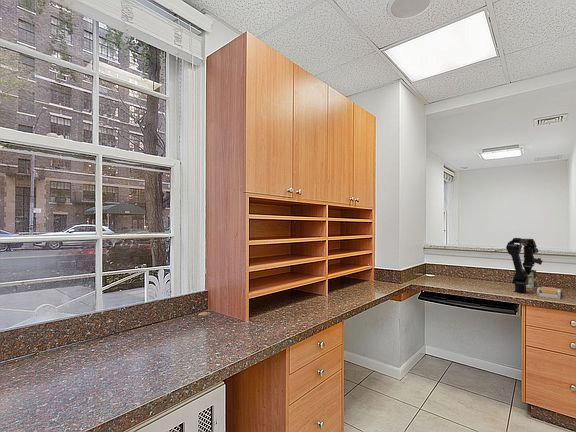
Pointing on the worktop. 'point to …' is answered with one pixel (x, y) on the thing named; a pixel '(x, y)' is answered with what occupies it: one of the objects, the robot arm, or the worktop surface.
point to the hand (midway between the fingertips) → (528, 274)
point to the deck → (558, 294)
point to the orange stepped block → (548, 290)
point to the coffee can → (531, 279)
